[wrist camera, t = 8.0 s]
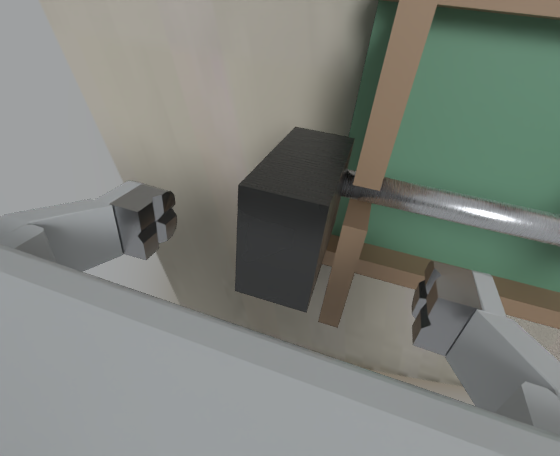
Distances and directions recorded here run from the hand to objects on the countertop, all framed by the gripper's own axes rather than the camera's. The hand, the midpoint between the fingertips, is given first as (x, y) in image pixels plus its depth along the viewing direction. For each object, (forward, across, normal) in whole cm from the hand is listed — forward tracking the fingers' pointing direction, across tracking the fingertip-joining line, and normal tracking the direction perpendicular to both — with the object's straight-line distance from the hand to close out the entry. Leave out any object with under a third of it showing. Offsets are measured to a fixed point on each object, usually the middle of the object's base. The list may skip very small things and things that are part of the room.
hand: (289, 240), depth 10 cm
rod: (+10, -7, 0) cm, 13 cm away
